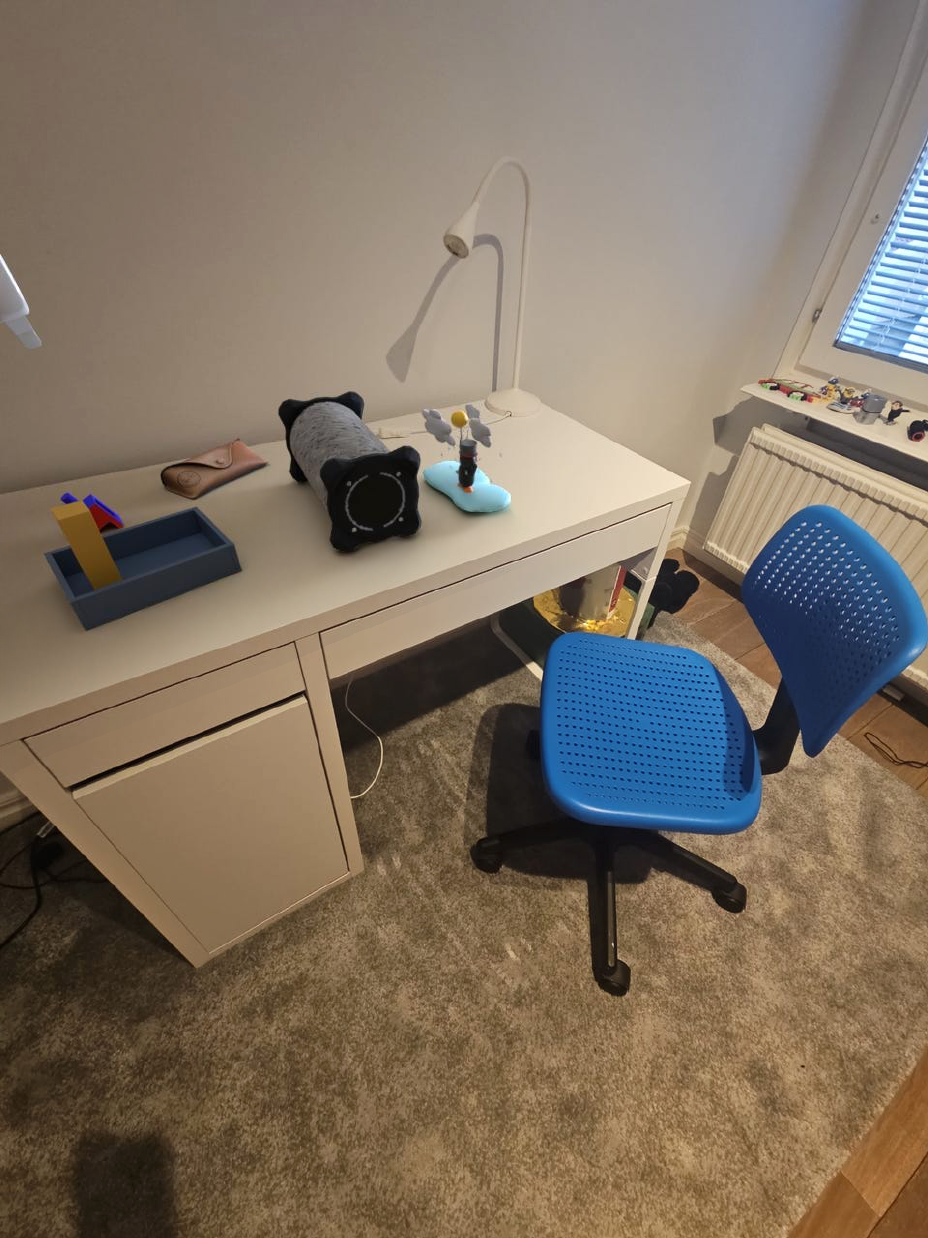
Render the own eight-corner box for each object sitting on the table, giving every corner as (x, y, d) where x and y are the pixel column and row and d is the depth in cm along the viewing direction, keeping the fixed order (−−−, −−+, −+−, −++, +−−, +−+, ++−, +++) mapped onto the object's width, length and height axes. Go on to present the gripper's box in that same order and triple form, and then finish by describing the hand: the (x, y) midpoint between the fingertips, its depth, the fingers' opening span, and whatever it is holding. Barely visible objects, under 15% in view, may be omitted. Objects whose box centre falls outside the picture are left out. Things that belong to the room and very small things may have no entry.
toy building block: (98, 532, 88) (51, 499, 81) (119, 515, 88) (74, 481, 82) (102, 542, 86) (54, 509, 79) (123, 524, 86) (78, 490, 80)
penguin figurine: (519, 509, 95) (529, 424, 85) (467, 524, 90) (471, 436, 80) (462, 464, 108) (465, 386, 98) (414, 475, 103) (412, 394, 93)
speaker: (366, 465, 106) (359, 386, 96) (426, 537, 87) (424, 448, 77) (289, 479, 100) (273, 397, 90) (335, 560, 81) (321, 466, 72)
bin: (85, 631, 68) (69, 602, 65) (58, 580, 75) (43, 553, 72) (242, 570, 79) (234, 544, 76) (205, 531, 86) (196, 505, 83)
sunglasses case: (194, 498, 93) (170, 462, 90) (177, 507, 97) (154, 473, 95) (272, 461, 105) (253, 428, 102) (254, 470, 109) (235, 439, 107)
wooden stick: (98, 598, 72) (57, 519, 64) (91, 585, 74) (50, 508, 66) (126, 588, 74) (89, 510, 66) (118, 576, 76) (81, 499, 68)
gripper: (-127, 167, 56) (-23, 306, 67) (-99, 226, 47) (16, 375, 58) (-60, 153, 58) (29, 289, 70) (-20, 206, 49) (75, 354, 60)
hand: (23, 329), depth 64 cm, fingers open, 8 cm apart
